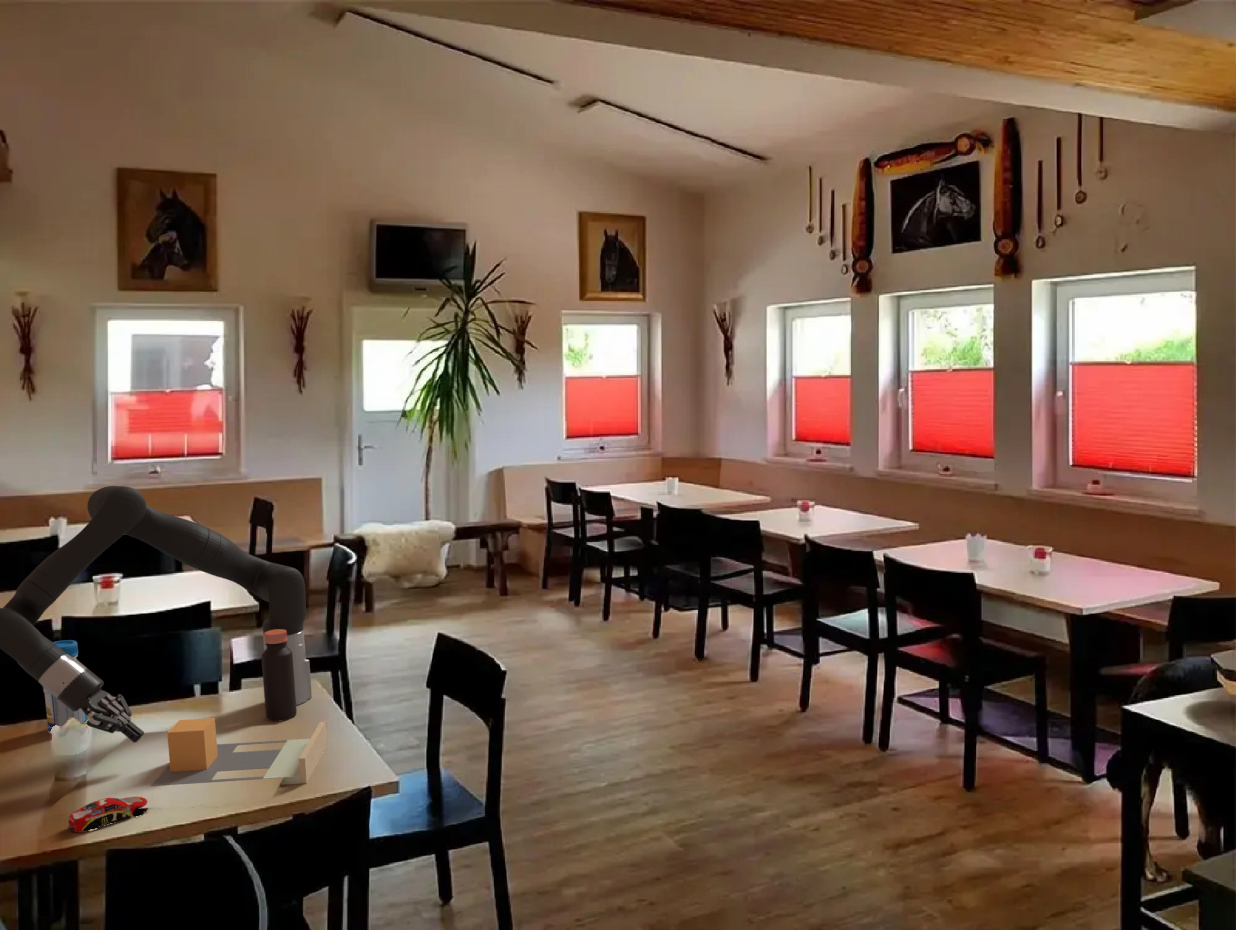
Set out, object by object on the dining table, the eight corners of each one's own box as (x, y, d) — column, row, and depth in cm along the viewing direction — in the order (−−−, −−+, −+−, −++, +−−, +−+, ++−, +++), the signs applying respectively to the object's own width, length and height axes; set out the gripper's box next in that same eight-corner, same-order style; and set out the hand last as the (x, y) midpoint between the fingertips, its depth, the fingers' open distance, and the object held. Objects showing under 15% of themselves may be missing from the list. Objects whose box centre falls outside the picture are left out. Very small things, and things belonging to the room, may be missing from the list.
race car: (143, 805, 191) (142, 784, 191) (153, 814, 187) (151, 793, 187) (66, 828, 182) (64, 806, 182) (74, 838, 178) (72, 816, 178)
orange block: (170, 771, 202) (167, 732, 201) (182, 758, 209) (179, 720, 208) (206, 769, 202) (203, 730, 201) (217, 755, 209) (214, 718, 208)
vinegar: (266, 713, 238) (260, 630, 236) (296, 709, 240) (291, 626, 238) (265, 723, 232) (259, 637, 230) (296, 719, 234) (290, 634, 232)
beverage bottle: (71, 737, 227) (62, 649, 225) (38, 735, 229) (29, 648, 227) (97, 723, 235) (89, 639, 233) (65, 722, 237) (57, 638, 235)
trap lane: (151, 793, 195) (148, 768, 195) (186, 753, 215) (184, 730, 215) (306, 783, 198) (304, 758, 197) (327, 744, 217) (325, 721, 217)
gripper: (68, 679, 195) (140, 736, 198) (98, 658, 208) (164, 713, 211) (42, 707, 195) (114, 765, 198) (73, 685, 209) (140, 739, 211)
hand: (140, 738), depth 204 cm, fingers closed
